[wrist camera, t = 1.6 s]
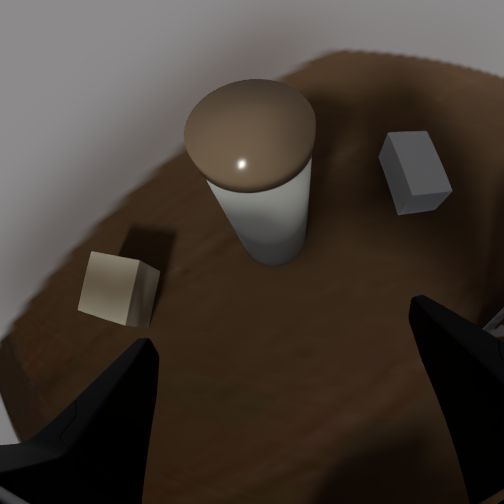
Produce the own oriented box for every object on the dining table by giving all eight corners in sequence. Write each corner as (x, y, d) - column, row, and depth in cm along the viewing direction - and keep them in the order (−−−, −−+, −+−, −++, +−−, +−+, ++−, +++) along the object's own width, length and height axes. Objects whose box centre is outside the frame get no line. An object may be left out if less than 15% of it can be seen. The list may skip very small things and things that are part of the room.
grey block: (434, 210, 23) (452, 191, 20) (397, 215, 24) (412, 195, 20) (413, 154, 25) (426, 130, 21) (378, 157, 25) (387, 132, 22)
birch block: (149, 328, 24) (125, 325, 20) (104, 314, 25) (77, 309, 21) (161, 271, 25) (139, 260, 21) (116, 263, 26) (91, 251, 22)
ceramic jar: (290, 277, 23) (284, 198, 10) (230, 251, 25) (160, 157, 11) (316, 218, 25) (332, 96, 11) (257, 195, 26) (222, 71, 12)
